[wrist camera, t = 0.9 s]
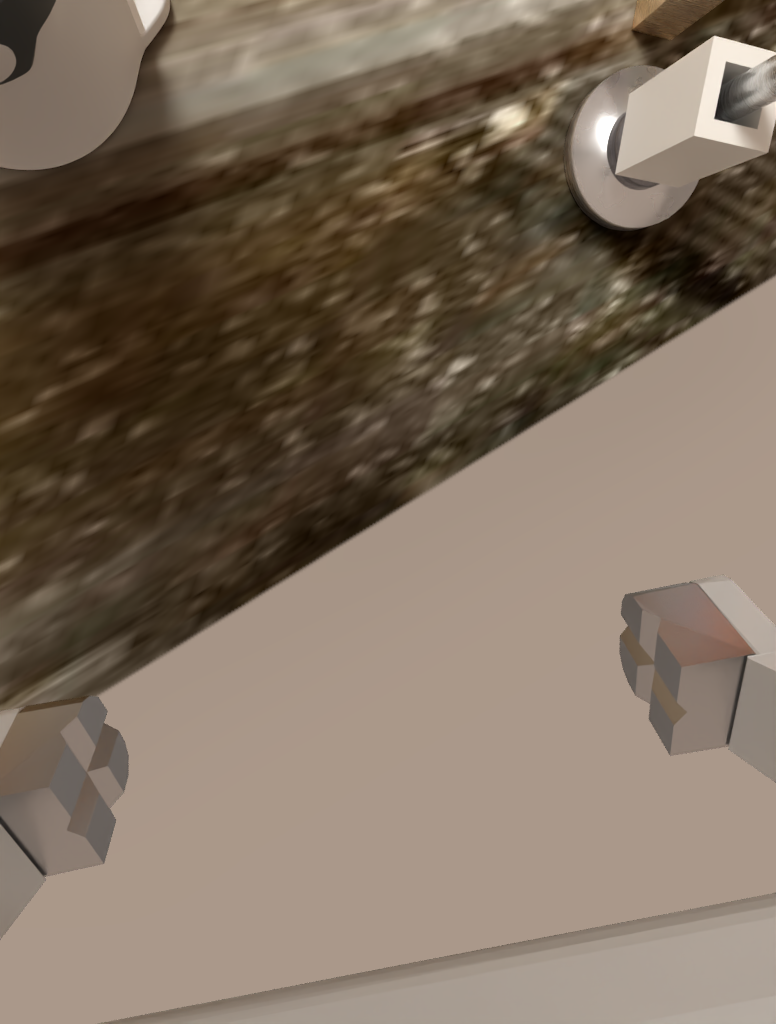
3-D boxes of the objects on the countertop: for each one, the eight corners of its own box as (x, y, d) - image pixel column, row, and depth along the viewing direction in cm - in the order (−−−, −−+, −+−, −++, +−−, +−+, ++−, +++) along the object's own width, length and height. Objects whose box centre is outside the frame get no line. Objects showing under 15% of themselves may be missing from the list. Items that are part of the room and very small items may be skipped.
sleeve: (678, 187, 43) (768, 152, 36) (614, 174, 42) (693, 135, 35) (694, 109, 42) (789, 56, 35) (629, 93, 41) (714, 35, 34)
